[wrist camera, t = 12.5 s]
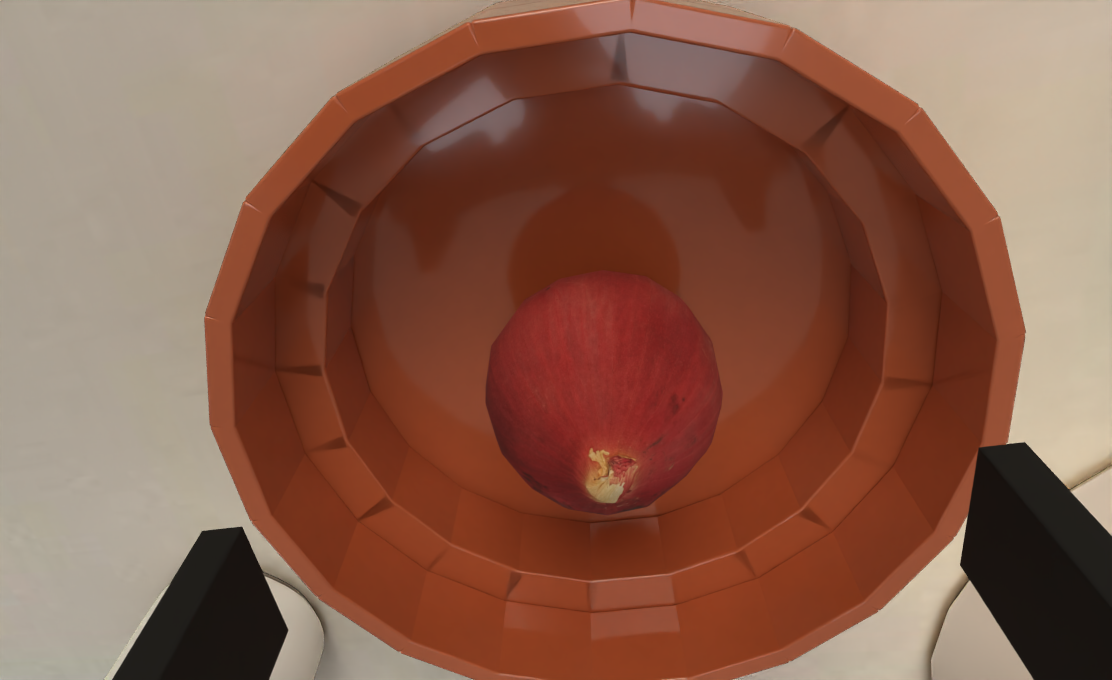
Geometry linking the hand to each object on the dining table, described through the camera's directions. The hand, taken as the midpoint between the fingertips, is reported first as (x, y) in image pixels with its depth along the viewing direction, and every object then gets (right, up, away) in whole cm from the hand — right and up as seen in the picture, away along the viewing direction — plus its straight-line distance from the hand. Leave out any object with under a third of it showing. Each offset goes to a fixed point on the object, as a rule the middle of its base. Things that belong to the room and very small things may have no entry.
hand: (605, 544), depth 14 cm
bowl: (0, +4, +9) cm, 10 cm away
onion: (0, +4, +8) cm, 9 cm away
